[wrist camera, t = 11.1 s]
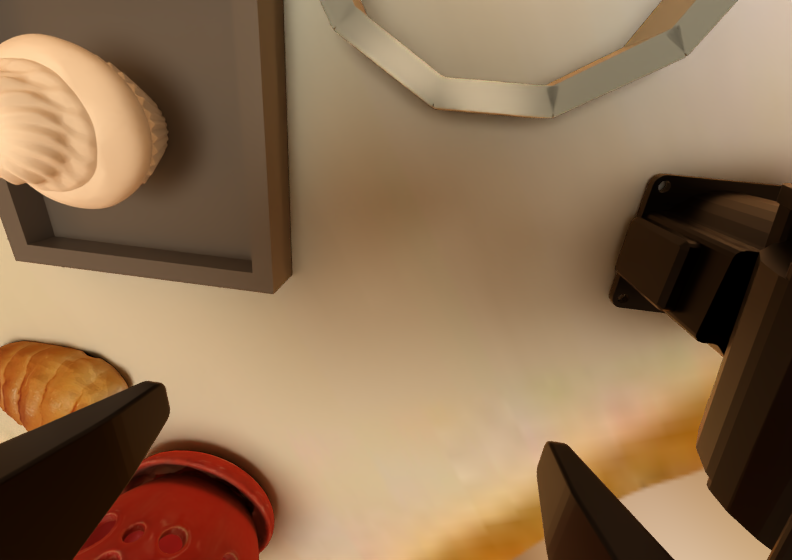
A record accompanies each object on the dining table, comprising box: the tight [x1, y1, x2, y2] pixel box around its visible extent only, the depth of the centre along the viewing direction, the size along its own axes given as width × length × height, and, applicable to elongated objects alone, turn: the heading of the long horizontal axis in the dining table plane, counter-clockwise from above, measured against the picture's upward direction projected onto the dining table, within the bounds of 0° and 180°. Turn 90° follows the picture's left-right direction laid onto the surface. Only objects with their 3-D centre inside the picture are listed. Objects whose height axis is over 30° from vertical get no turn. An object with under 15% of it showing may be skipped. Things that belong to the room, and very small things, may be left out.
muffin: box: [0, 34, 169, 209], centre depth 14 cm, size 6×6×7 cm
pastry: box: [0, 341, 128, 431], centre depth 25 cm, size 9×7×4 cm
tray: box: [0, 0, 292, 294], centre depth 17 cm, size 14×14×2 cm
